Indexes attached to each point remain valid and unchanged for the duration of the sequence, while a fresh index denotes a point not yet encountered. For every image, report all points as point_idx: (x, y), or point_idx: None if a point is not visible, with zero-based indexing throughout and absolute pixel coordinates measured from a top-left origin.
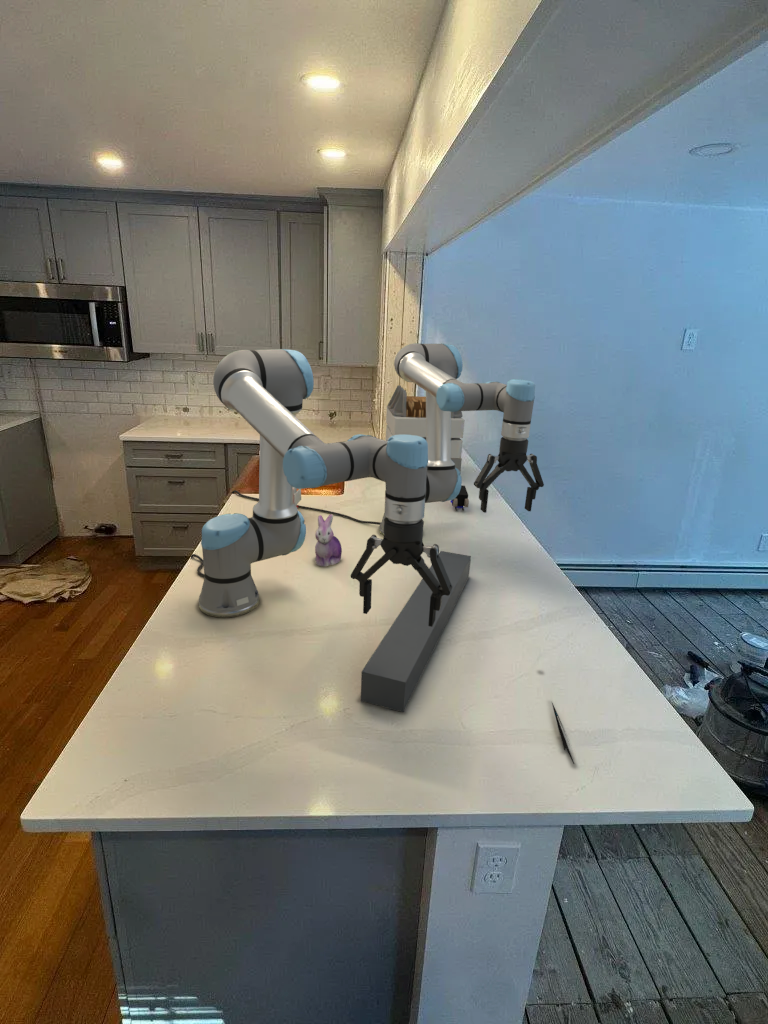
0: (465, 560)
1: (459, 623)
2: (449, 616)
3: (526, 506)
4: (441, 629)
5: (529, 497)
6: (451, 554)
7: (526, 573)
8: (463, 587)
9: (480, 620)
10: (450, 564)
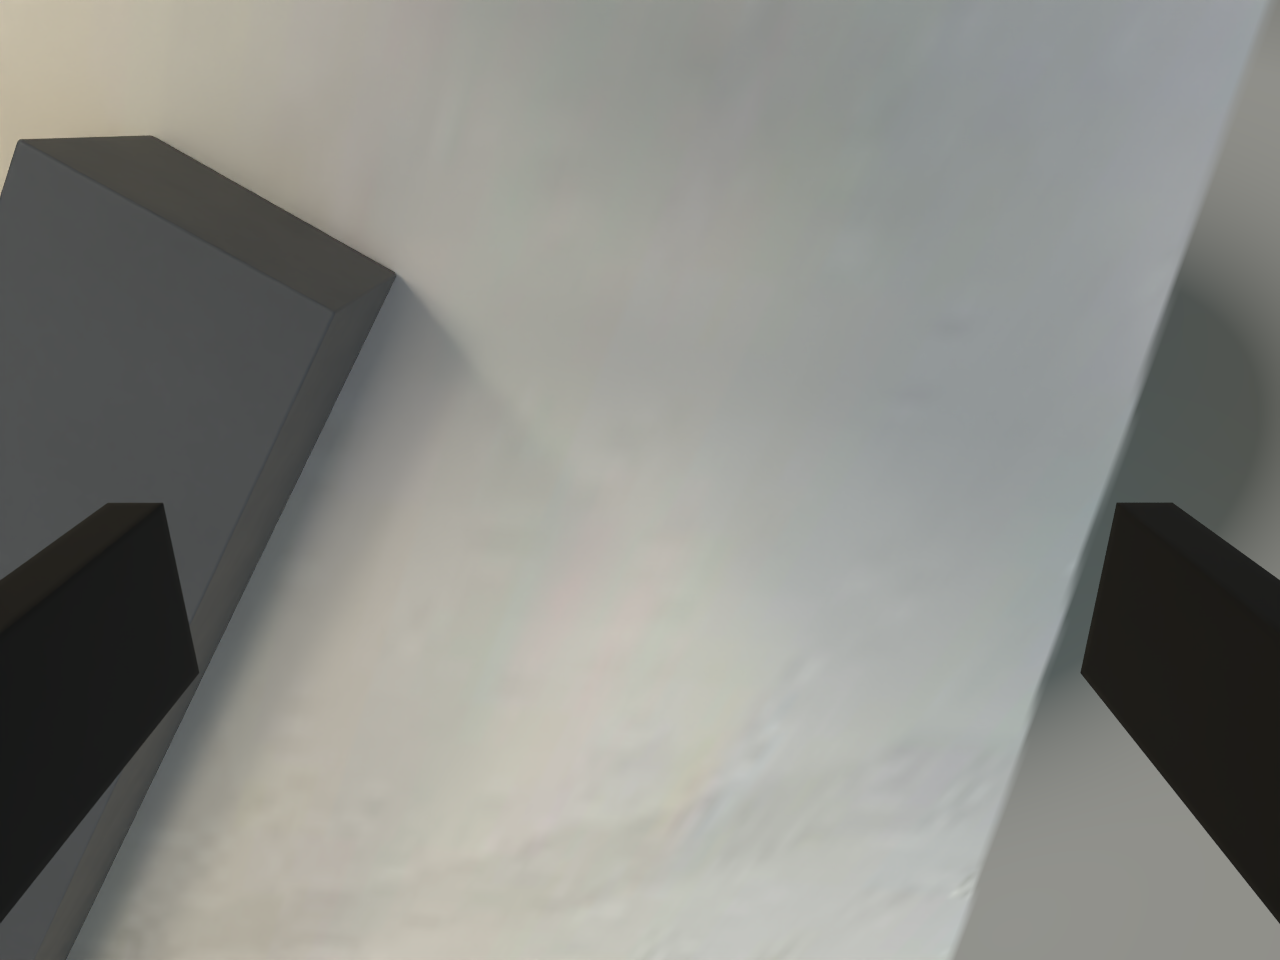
0: (256, 410)
1: (209, 822)
2: (152, 776)
3: (1134, 608)
4: (74, 929)
5: (1270, 850)
6: (129, 255)
7: (930, 248)
8: (307, 457)
9: (336, 809)
10: (96, 478)
